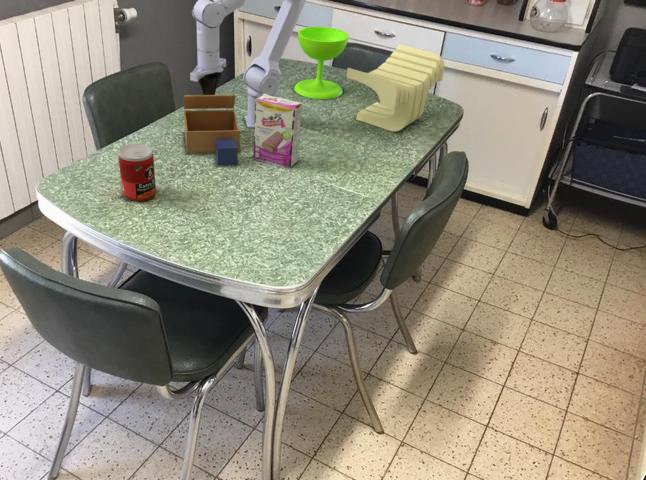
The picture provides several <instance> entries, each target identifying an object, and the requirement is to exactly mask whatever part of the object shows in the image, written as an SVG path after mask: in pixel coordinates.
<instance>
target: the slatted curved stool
mask: <svg viewBox="0 0 646 480" xmlns="http://www.w3.org/2000/svg"><path fill="white" fill-rule="evenodd" d="M444 71H445V61H444V59H443V57H442V56H441V55H439V54H438V53H435V52H431V51H428V50H425V49H420V48H416V47H413V46H408V45H406V44H402V43H399V44H397V46H396V48H395V50H393V51H392V53H391V54H390V56H389V57H387V59H385V62H382V64H381V65H379V66H378V67H377V69H376V68H375V69H373V70H371V71H369V72H364V71H361V70H359V69H354V68H351V67H347V70H346V78H347V79H350V80H352V81H356V82H358V83H361V84H362V85H365V86H367V87H369V88H371V89H372V90H373V91H374V92H375V93H376V94H377V96H378V98H379V102H377V101H376V102H374V103H373V104H371V105H369V106H367V107H365V108H364V109H362V110H360V111H358V112H357V115H356V118H355V120H356V121H360V122H363V123H365V124H368V125H371V126H375V127H377V128H380V129H382V130H383V129H384V130H387V131H390V132H394V133H395V132H399V131H401V130H403V129H404V128H405V127H407V126H409V125H411V124H412V123H413V122H415V121H416V120H418V119H420V118H421V117H422V116H423V114H424V109H425V105H426V102H427V99H428V96H429V94H430V93H429V92H430V90H432V89H433V87H434V85H435V84H437V83H439V82H442V81H443V77H444Z"/></svg>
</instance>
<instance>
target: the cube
mask: <svg viewBox="0 0 646 480" xmlns="http://www.w3.org/2000/svg"><path fill="white" fill-rule="evenodd" d="M215 159H216V163H217V166H237V165H238V152H237V145H236V141H235V140H216V153H215Z"/></svg>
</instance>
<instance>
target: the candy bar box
mask: <svg viewBox="0 0 646 480" xmlns="http://www.w3.org/2000/svg"><path fill="white" fill-rule="evenodd" d="M302 115H303V102H300V101H297V100H296V101H295V100H293V99H287V98H283V97H281V96H280V97H276V96H271V95H267V94H262V95H261V96H260V97H258V98H257V99H256V100H255V125H254V126H255V127H253V128H254V129H253V132H254V133H253V159H258V160H261V161H266V162H269V163H274V164H277V165H281V166H284V167H289V168H291V167H292V166H294V165H295V164H297V163H298V162H299V153H300V138H301V127H302Z"/></svg>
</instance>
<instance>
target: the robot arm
mask: <svg viewBox="0 0 646 480" xmlns="http://www.w3.org/2000/svg"><path fill="white" fill-rule="evenodd" d="M306 1H307V0H283V1H282V4H281V6H280V8H279V10H278V12H277V16H276V18H275V20H274V21H273V22H274V23H273V25H272V27H271V29H270V32H269V34H268V37H267V39H266V41H265V43H264V46H263V48H262V51H261V53H260V55H258V56H256V57H255V58H253V59H252V61H251V63H250V64H249V66H248V67H247V68H246V69H245V70H244V73H243V76H242V77H243V83H244V84H245V86H246V90H247V111H246V112H247V113H246V115H244V120H245V123H246V127H247V128H254V127H255V126H254V125H255V100H256V99H257V98H258V97H260V96H261V95H262V94H267V95H271V96H276V97H280V98H281V94H280V92H277V91H278V89H279V81H280V78H281V76H282V72H281V69H280V66H279V65H280V62H281V59H282V57H283V55H284V52H285V50H286V47H287V44H289V41H290V38H291V36H292V34H293V32H294V29H295V27H296V24H297V23H298V20H299V18H300V16H301V13H302V11H303V9H304V7H305V4H306ZM245 3H246V0H197V1H196V2H195V4H194V6H193V9H192V10H191V15H192V17H193V18H194V20H195V22H196V23H195V24H196V51H197V64H196V66H195V68H194V69H193V71H191V72H190V73H189V78H190V81H191V82H195V83H199V85H200V88H201V91H202V95H216V92H217V88H218V85H219V82H220V80H221V78H222V77H223V76H222V75H223V74H222V72H223V71H224V68H226V67H227V59H226V58H221V57H220V26H221V24H222V23H223V21H224V19H225V18H226V17H227V16H228V15H230V14H231V13H233V12H235V11H236V10H238V9H240V8H241V7H243V6H245Z"/></svg>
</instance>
